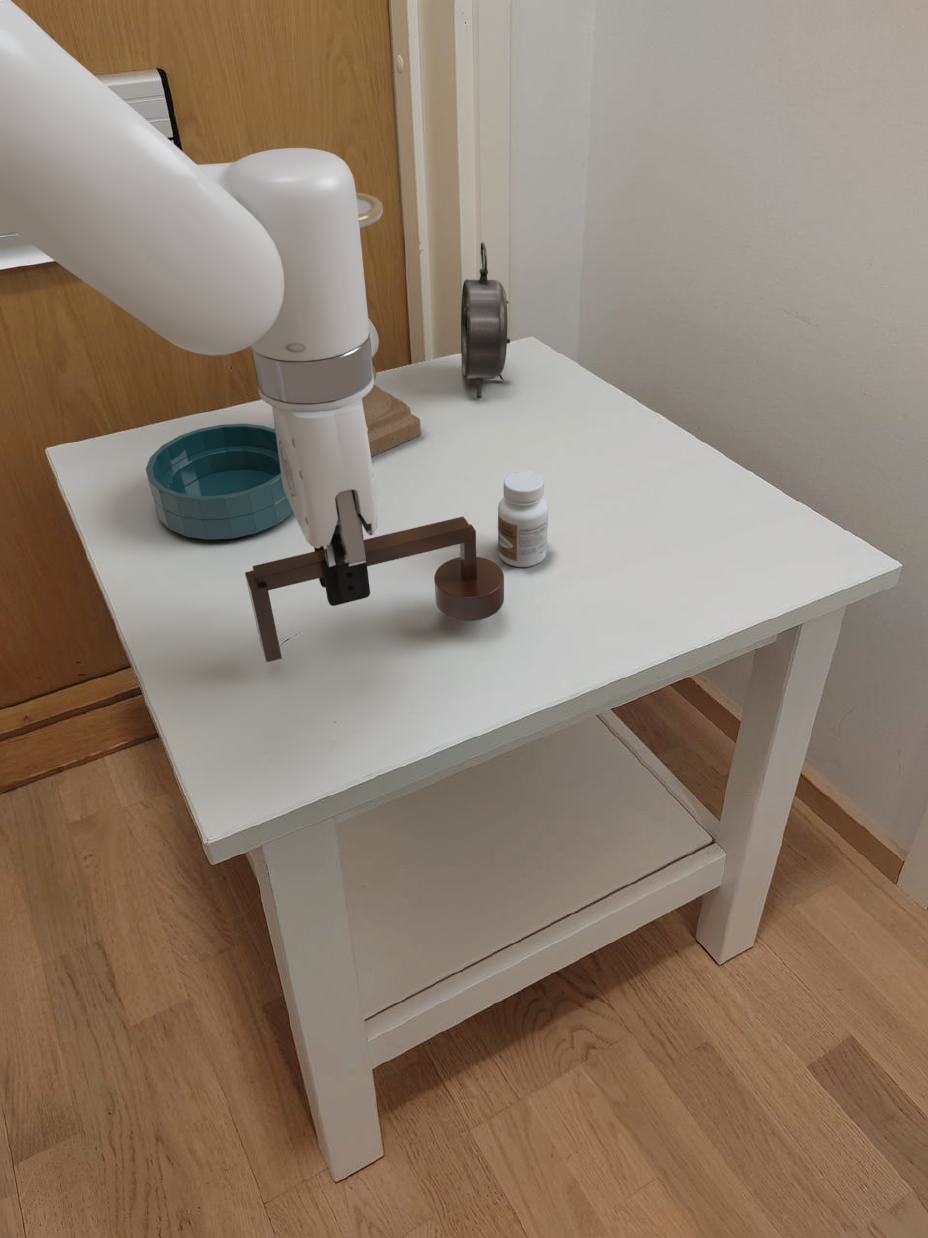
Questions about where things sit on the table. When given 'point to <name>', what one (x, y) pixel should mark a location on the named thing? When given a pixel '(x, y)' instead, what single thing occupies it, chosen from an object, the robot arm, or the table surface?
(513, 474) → the pill bottle
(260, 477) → the bowl
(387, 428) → the candle holder
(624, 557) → the table surface
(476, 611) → the ladle
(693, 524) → the table surface
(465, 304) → the alarm clock
